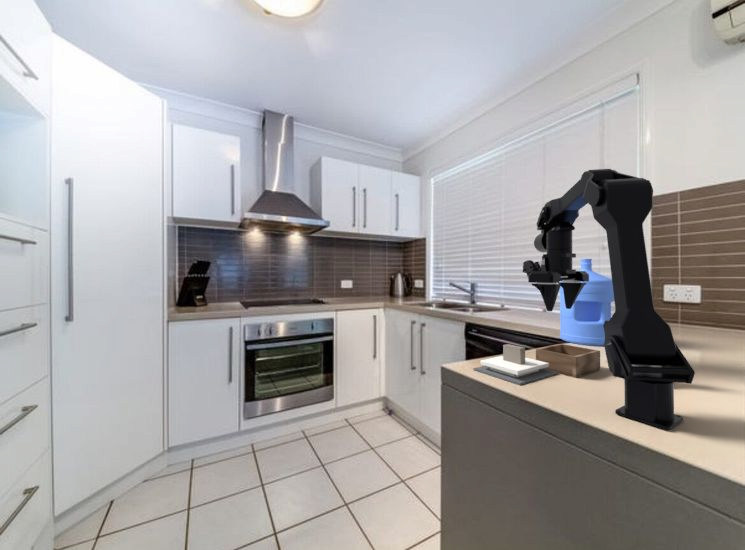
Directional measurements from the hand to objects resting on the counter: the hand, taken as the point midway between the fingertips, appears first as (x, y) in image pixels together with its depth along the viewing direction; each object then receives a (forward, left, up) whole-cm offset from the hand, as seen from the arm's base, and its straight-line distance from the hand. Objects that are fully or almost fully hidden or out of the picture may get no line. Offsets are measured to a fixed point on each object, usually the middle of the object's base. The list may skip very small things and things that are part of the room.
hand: (559, 309), depth 79 cm
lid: (-18, +1, -13) cm, 22 cm away
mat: (-18, +1, -13) cm, 22 cm away
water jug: (+33, +9, -14) cm, 37 cm away
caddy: (-5, -4, -13) cm, 15 cm away
